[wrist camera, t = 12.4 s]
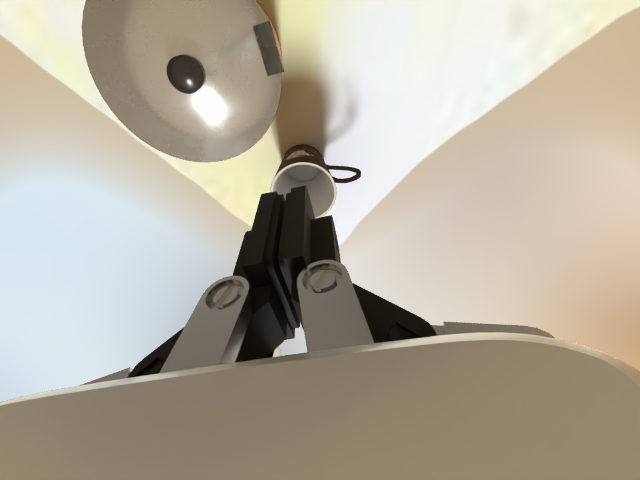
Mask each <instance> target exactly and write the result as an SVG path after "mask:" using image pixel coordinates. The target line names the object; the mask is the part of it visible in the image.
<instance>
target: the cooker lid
mask: <svg viewBox="0 0 640 480" xmlns="http://www.w3.org/2000/svg"><path fill="white" fill-rule="evenodd" d="M82 36H83V46H84V51H85V57H86V60H87V63H88V67H89V70H90V73H91V75H92V77H93V80H94V82H95V84H96V86H97V88H98V90H99V92H100V94H101V95H102V97H103V99H104V100H105V102H106V103H107V105H108V106H109V108H110V109H111V111H112V112H113V113H114V114H115V115H116V116H117V118H118V119H119V120H120V121H121V122H122V123H123V124H124V125H125V126H126V127H127V128H128V129H129V130H130V131H131V132H132V133H134V134H135V135H136V136H137V137H139V138H140V139H141V140H143V141H144V142H146V143H147V144H149V145H150V146H152V147H154V148H155V149H157V150H159V151H161V152H163V153H166V154H168V155H171V156H173V157H176V158H180V159H183V160H188V161H194V162H217V161H222V160H227V159H230V158H233V157H235V156H238V155H240V154H242V153H243V152H245V151H247V150H248V149H250V148H251V147H252V146H254V145H255V144H256V143H257V142H258V141H259V140H260V139H261V138H262V136H263V135H264V134H265V133H266V131H267V130H268V128H269V126H270V125H271V123H272V121H273V119H274V116H275V114H276V112H277V108H278V104H279V101H280V94H281V78H282V73H281V72H284V69H283V66H282V62H281V58H280V55H279V51H278V47H277V43H276V40H275V36H274V32H273V29H272V25H271V21H267V19H266V17H265V16H264V14H263V12H262V11H261V9H260V7H259V6H258V4H257V3H256V2H255V0H86V2H85V6H84V11H83V20H82Z"/></svg>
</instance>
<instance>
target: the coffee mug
mask: <svg viewBox="0 0 640 480" xmlns="http://www.w3.org/2000/svg"><path fill="white" fill-rule="evenodd" d="M328 169H334V170H348V171H352V172H356V173H357V174H356V175H355V176H353V177H351V178H346V179H337V178H335V177H332V176H331V174H330V172H329V170H328ZM360 177H361V171H360V170H359V169H356V168H352V167H345V166H329V165H326V164H325V162H324V160H323V158H322V156H321V154H320V153H319V151H318V150H317V149H315V148H314V147H312V146H309V145H304V144H301V145H296V146H294V147H292V148H291V149H289V150H288V151H287V153H286V154H285V156H284V158H283V160H282V162H281V165H280V167H279V169H278V171H277V173H276V175H275V177H274V180H273V182H272V185H271V192H275V191H276V192H277V193H278V195H280V194H283V195H284V198H285V200H286V193H290V192H291V188H295V187H300V186H305V185H306V186H307V189H308V193H309V197H310V200H311V204H312V208H313V212H314V216H315V218H320V217H322V216H324V215H325V214H327V212H328V211H329V210H330V209H331V208H332V206H333V205H334V202H335V200H336V194H337V191H336V185H335V183H348V182H352V181H355V180H357V179H358V178H360Z"/></svg>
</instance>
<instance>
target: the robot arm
mask: <svg viewBox="0 0 640 480" xmlns="http://www.w3.org/2000/svg"><path fill="white" fill-rule="evenodd" d="M300 322H301V325H302V327H303V330H304V332H305V339H306V346H307V353H300V354H293V355H285V356H281V347H280V344H281V343H282V342H283V341H284V340H286V339H292V338H294V336H295V328H299V327H300ZM0 480H640V371H638V370H637V369H635V368H634V367H632V366H630V365H629V364H627V363H625V362H624V361H622V360H620V359H618V358H616V357H614V356H612V355H609V354H607V353H605V352H602V351H600V350H597V349H594V348H590V347H587V346H584V345H581V344H577V343H573V342H569V341H565V340H560V339H555V338H554V337H553V336H552V335H550V334H549V333H547V332H545V331H542V330H540V329H538V328H533V327H528V326H518V325H498V324H478V323H477V324H476V323H458V322H443V326H436V325H430V324H429V323H428V322H427V321H425V320H424V319H422V318H421V317H418V316H417V315H415V314H413V313H410V312H409V311H406V310H405V309H403V308H401V307H399V306H397V305H395V304H393V303H391V302H389V301H387V300H385V299H383V298H381V297H379V296H377V295H375V294H373V293H371V292H369V291H367V290H365V289H363V288H361V287H359V286H357V285H355V284H353V283H352V281H351V279H350V276H349V273H348V271H347V269H346V268H345V266H344V265H343V264H341V262H340V254H339V247H338V241H337V236H336V231H335V226H334V222H333V218H332V215H331V216H325V217H320V218H315V216H314V212H313V208H312V204H311V200H310V197H309V193H308V189H307V186H306V185H305V186H300V187H295V188H291V192H290V193H286V200H285V198H284V195H283V194H280V195H278V193H277V192H276V191H275V192H270V193H265V194H262V195H261V197H260V201H259V205H258V208H257V212H256V216H255V219H254V223H253V227H252V230H251V231H247V232H246V233H245V235H244V239H243V242H242V246H241V249H240V252H239V256H238V259H237V262H236V266H235V269H234V273H233V276H229V277H225V278H222V279H220V280H218V281H216V282H215V283H213V284H212V285H211V286H210V287H209V288H207V290H206V291H205V292H204V293H203V295H202V297H201V298H200V300H199V302H198V304H197V306H196V307H195V309H194V311H193V313H192V315H191V317H190V319H189V320H188V322H187V324H186V326H185V327H184V328H183V329H181V330H180V331H179V332H177V333H176V334H175V335H174V336H172V337H171V338H170V339H168V340H167V341H166V342H165V343H163V344H162V345H161V346H160V347H158V348H157V349H156V350H154V351H153V352H152V353H151V354H149V355H148V356H146V357H145V358H144V359H143V360H142V361H141V362H139V363H138V364H137V365H136V366H135V368H134V369H131V368H127V369H124V370H122V371H119V372H116V373H113V374H110V375H107V376H105V377H102V378H99V379H96V380H93V381H91V382H88V383H85V384H82V385H79V386H75V387H69V388H62V389H57V390H51V391H46V392H41V393H36V394H32V395H27V396H22V397H18V398H14V399H11V400H7V401H3V402H0Z"/></svg>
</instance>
